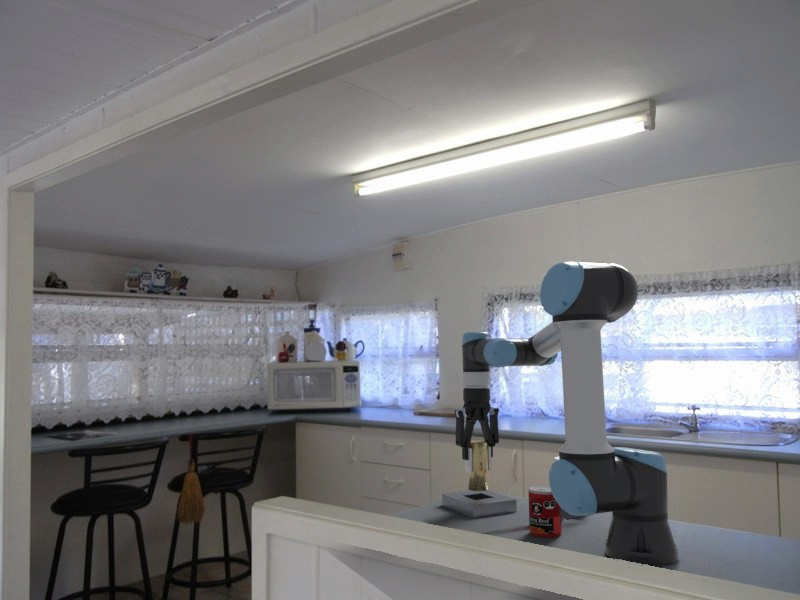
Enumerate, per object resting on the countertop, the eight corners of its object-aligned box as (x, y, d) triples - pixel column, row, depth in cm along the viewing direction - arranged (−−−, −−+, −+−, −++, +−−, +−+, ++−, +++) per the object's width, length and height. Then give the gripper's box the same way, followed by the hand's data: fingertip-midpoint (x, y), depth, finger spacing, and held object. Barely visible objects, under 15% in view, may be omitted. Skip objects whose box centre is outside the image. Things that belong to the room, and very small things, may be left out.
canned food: (523, 534, 168) (522, 488, 168) (540, 527, 174) (539, 483, 174) (550, 540, 162) (549, 493, 163) (567, 533, 168) (566, 487, 169)
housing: (516, 516, 185) (516, 499, 185) (473, 522, 178) (473, 505, 179) (483, 504, 199) (483, 488, 199) (442, 510, 193) (442, 493, 193)
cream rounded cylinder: (492, 489, 188) (491, 442, 189) (475, 491, 185) (474, 443, 186) (481, 486, 193) (480, 439, 194) (464, 488, 190) (463, 441, 191)
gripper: (496, 385, 199) (497, 465, 197) (441, 387, 190) (442, 471, 189) (511, 386, 192) (513, 469, 190) (455, 388, 184) (456, 476, 182)
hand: (478, 470), depth 190 cm, fingers closed on cream rounded cylinder, 6 cm apart
